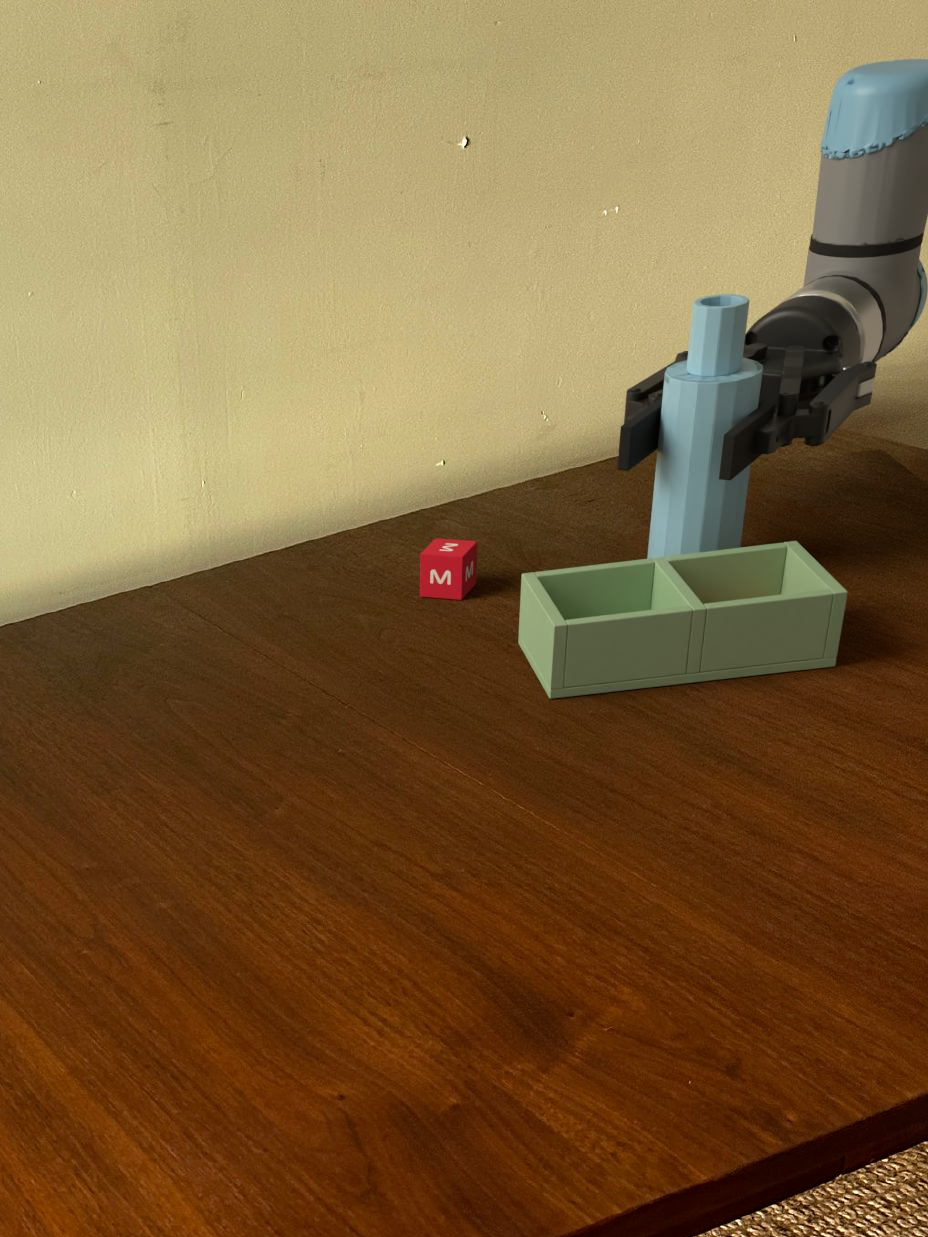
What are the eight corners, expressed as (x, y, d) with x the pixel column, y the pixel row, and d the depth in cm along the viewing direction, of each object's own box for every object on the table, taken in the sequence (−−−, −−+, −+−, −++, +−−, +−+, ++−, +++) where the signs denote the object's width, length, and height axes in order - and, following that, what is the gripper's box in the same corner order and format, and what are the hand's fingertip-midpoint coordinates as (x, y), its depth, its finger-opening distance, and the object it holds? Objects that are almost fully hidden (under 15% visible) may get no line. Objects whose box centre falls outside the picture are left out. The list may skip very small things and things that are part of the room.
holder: (785, 612, 113) (796, 540, 110) (835, 666, 106) (848, 591, 103) (517, 643, 114) (521, 573, 111) (549, 699, 107) (554, 626, 104)
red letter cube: (461, 600, 121) (462, 556, 119) (419, 596, 122) (420, 553, 120) (476, 583, 123) (477, 540, 121) (434, 580, 124) (435, 538, 122)
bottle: (721, 552, 122) (754, 284, 111) (748, 581, 117) (784, 305, 107) (636, 562, 122) (660, 296, 112) (659, 592, 118) (687, 318, 107)
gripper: (938, 416, 121) (819, 529, 108) (670, 397, 131) (531, 498, 118) (960, 297, 117) (839, 400, 103) (681, 288, 127) (538, 380, 114)
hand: (675, 452), depth 111 cm, fingers closed on bottle, 6 cm apart
